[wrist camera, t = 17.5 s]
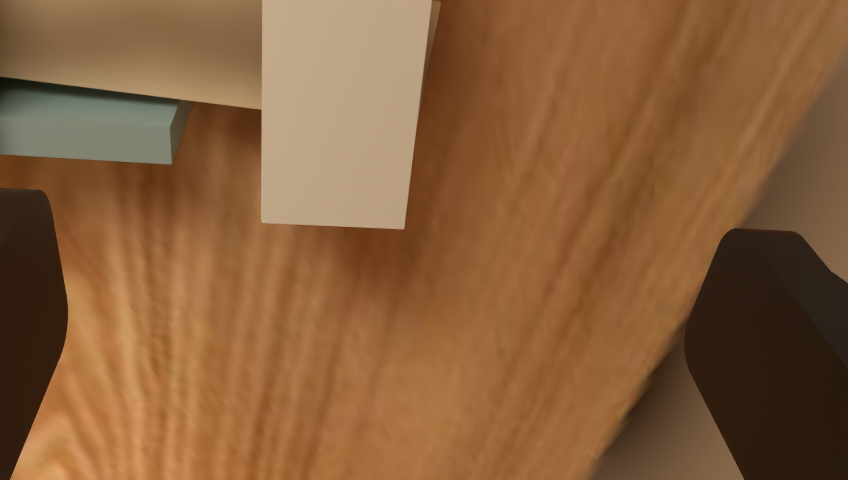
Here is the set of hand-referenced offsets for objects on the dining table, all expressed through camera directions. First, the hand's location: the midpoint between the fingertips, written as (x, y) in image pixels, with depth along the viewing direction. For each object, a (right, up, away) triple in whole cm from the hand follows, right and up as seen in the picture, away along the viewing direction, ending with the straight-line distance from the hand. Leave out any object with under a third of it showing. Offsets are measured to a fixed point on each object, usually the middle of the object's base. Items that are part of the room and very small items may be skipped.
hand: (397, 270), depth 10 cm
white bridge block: (-3, +10, +22) cm, 24 cm away
